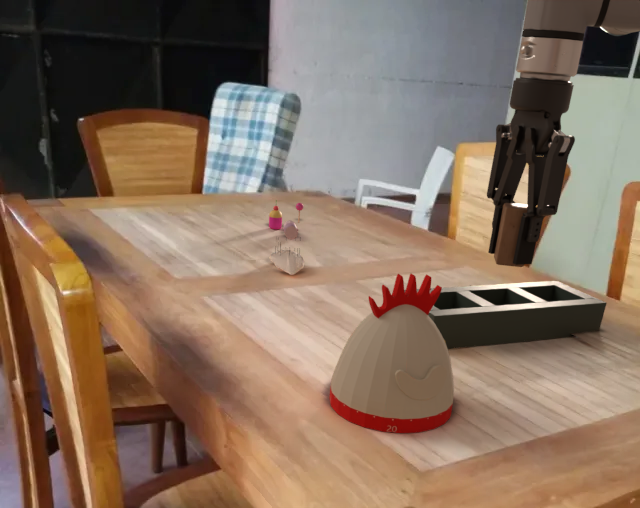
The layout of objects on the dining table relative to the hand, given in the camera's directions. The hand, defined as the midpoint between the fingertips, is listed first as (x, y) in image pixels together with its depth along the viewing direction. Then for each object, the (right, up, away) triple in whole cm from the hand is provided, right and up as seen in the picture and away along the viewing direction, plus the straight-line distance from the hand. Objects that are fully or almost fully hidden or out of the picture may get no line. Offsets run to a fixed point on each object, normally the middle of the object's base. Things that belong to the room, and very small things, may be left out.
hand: (509, 257), depth 101 cm
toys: (-34, +19, +54) cm, 67 cm away
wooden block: (0, -1, 0) cm, 1 cm away
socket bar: (-1, -9, +5) cm, 11 cm away
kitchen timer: (-19, -22, -21) cm, 36 cm away
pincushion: (-33, +4, +26) cm, 43 cm away
